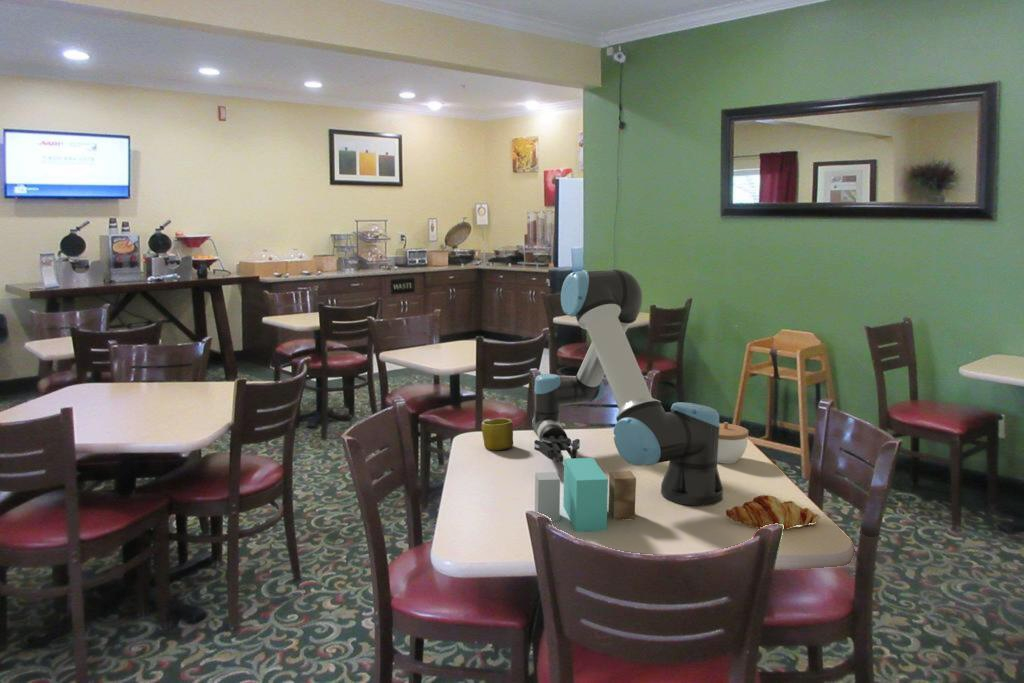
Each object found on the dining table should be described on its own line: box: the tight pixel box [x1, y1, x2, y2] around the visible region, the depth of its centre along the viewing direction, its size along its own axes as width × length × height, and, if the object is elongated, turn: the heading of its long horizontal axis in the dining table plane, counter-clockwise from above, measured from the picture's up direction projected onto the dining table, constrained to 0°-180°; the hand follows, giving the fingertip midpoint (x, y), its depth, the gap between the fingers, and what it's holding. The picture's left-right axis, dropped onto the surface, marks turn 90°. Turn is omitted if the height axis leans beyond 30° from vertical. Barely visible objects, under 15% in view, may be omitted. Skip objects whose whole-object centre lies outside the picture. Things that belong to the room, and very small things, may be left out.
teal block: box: [562, 457, 609, 533], centre depth 178 cm, size 7×15×12 cm, turn 7°
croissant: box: [725, 494, 821, 530], centre depth 176 cm, size 21×10×8 cm, turn 89°
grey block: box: [534, 471, 561, 522], centre depth 178 cm, size 5×5×10 cm
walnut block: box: [607, 470, 637, 521], centre depth 180 cm, size 5×5×10 cm
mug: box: [481, 418, 514, 452], centre depth 232 cm, size 12×10×10 cm
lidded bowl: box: [717, 421, 750, 465], centre depth 220 cm, size 13×13×11 cm
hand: (568, 463), depth 197 cm, fingers closed
